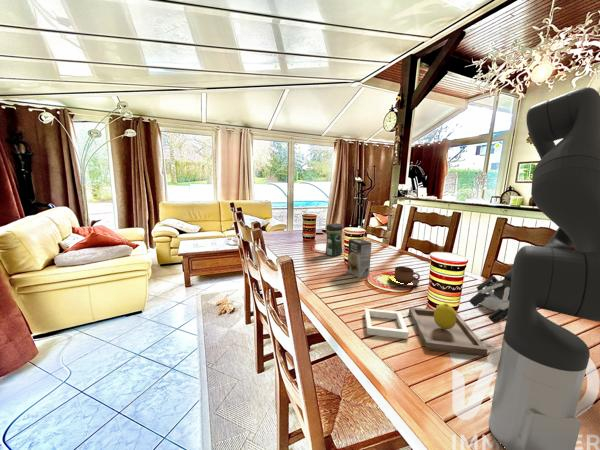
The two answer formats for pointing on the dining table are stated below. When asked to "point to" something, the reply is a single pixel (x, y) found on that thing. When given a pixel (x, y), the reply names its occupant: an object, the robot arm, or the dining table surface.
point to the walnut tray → (446, 334)
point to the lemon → (445, 316)
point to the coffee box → (359, 257)
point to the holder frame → (382, 330)
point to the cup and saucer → (405, 276)
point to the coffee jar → (334, 239)
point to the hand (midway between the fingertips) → (480, 311)
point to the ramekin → (492, 302)
